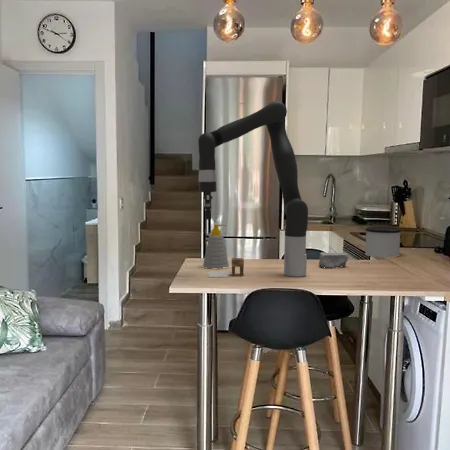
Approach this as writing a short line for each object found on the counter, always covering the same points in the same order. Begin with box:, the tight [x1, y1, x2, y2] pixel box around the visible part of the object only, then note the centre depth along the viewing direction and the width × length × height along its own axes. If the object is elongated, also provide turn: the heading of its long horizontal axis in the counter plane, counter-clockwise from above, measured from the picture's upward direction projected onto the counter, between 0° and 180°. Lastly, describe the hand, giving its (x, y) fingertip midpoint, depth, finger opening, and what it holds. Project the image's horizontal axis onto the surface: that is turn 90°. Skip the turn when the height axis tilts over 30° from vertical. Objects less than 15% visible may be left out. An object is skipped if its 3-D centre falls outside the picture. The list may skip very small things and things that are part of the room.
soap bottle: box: [202, 223, 230, 269], centre depth 226 cm, size 12×12×20 cm
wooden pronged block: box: [231, 257, 245, 277], centre depth 207 cm, size 5×5×7 cm
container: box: [364, 226, 402, 258], centre depth 268 cm, size 19×19×15 cm
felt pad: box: [208, 271, 229, 278], centre depth 207 cm, size 8×11×1 cm
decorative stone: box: [318, 251, 349, 269], centre depth 229 cm, size 15×7×10 cm
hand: (208, 218), depth 204 cm, fingers open, 8 cm apart
